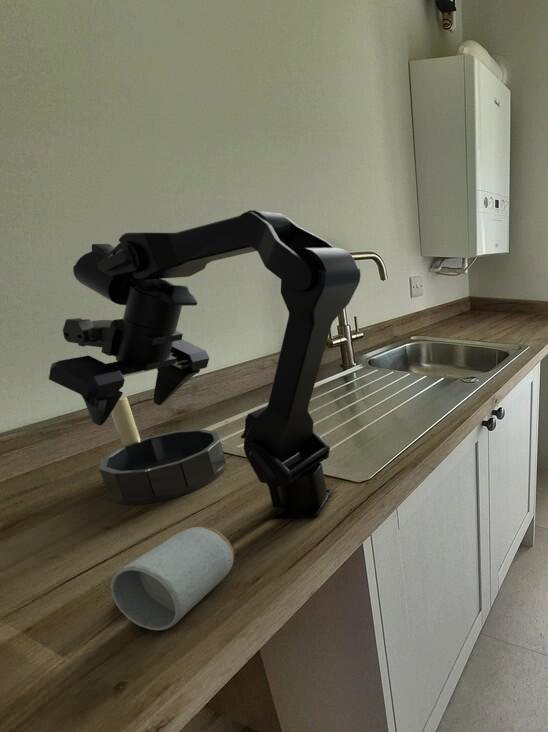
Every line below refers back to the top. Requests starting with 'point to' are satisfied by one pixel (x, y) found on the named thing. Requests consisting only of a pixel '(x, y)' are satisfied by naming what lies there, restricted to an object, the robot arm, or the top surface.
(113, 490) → the grey faceted ring
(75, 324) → the robot arm
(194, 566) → the pale grey cup
